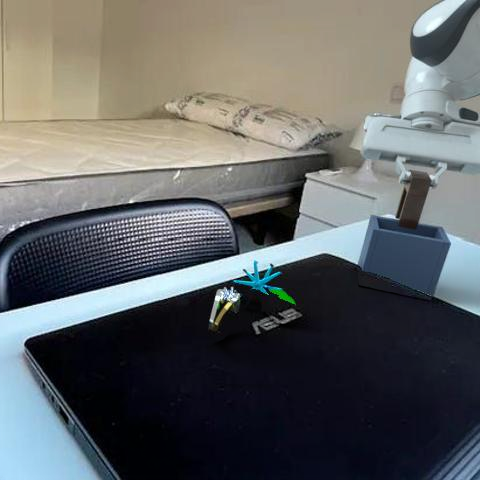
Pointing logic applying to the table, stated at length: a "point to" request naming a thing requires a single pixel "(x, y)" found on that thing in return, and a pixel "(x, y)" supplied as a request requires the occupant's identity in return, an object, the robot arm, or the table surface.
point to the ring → (232, 302)
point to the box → (405, 253)
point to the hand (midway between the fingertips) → (417, 184)
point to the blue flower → (260, 284)
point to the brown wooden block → (413, 199)
